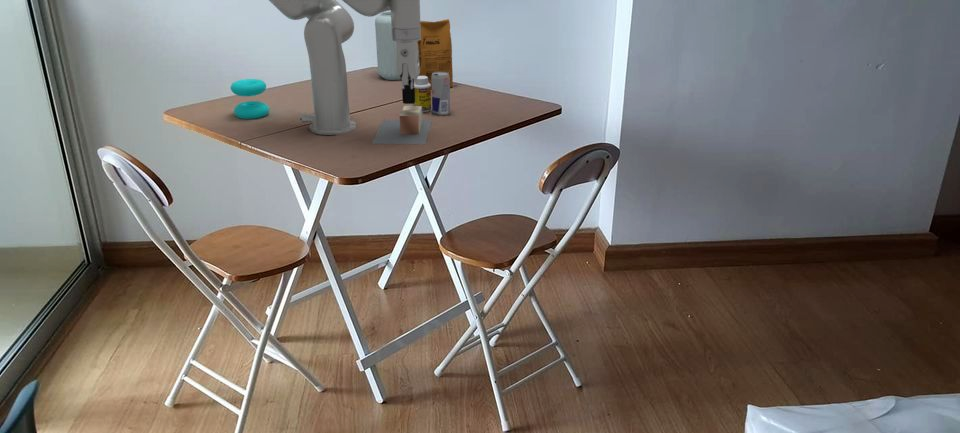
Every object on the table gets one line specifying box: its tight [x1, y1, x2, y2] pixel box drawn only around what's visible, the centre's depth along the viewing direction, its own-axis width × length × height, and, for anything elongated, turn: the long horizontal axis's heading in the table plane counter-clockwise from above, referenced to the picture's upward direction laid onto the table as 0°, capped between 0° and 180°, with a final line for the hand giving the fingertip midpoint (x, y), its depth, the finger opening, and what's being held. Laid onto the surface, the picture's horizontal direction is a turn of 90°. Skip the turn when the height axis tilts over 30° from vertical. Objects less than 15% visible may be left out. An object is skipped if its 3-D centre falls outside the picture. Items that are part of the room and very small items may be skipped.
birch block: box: [399, 105, 423, 134], centre depth 204 cm, size 5×5×10 cm
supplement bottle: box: [412, 76, 432, 114], centre depth 221 cm, size 6×6×10 cm
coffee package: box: [418, 18, 454, 89], centre depth 245 cm, size 10×12×22 cm
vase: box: [374, 11, 400, 81], centre depth 257 cm, size 12×12×22 cm
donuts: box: [230, 78, 270, 120], centre depth 216 cm, size 10×10×10 cm
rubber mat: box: [371, 119, 433, 145], centre depth 203 cm, size 14×22×1 cm, turn 178°
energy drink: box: [431, 72, 451, 117], centre depth 217 cm, size 5×5×12 cm
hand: (409, 102), depth 199 cm, fingers closed
